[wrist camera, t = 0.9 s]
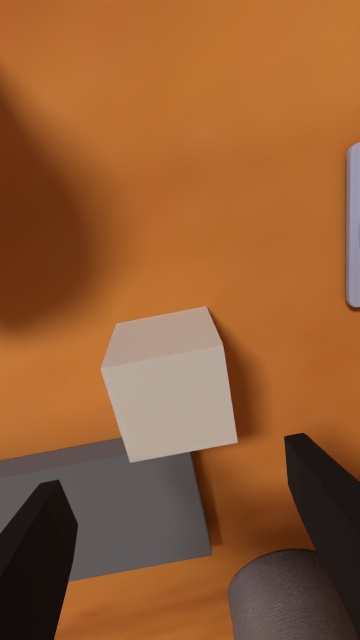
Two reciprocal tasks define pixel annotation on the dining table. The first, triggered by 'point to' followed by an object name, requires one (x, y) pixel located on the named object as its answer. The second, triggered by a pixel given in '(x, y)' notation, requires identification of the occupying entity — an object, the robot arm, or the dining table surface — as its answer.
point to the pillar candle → (287, 600)
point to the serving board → (116, 505)
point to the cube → (169, 385)
